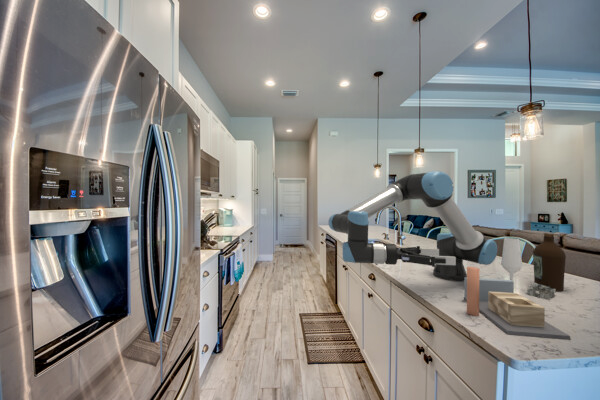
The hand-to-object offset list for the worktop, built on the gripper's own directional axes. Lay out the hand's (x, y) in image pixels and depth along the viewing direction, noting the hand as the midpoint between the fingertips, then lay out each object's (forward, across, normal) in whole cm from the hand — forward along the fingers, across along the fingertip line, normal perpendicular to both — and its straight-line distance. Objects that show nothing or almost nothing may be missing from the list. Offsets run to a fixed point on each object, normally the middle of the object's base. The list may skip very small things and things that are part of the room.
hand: (446, 256), depth 87 cm
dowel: (+9, 0, -20) cm, 22 cm away
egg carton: (+47, -25, -20) cm, 57 cm away
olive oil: (+58, -35, -20) cm, 70 cm away
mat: (+20, 0, -20) cm, 28 cm away
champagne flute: (+33, -20, -20) cm, 43 cm away
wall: (+20, -11, -19) cm, 29 cm away
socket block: (+20, +3, -19) cm, 27 cm away
